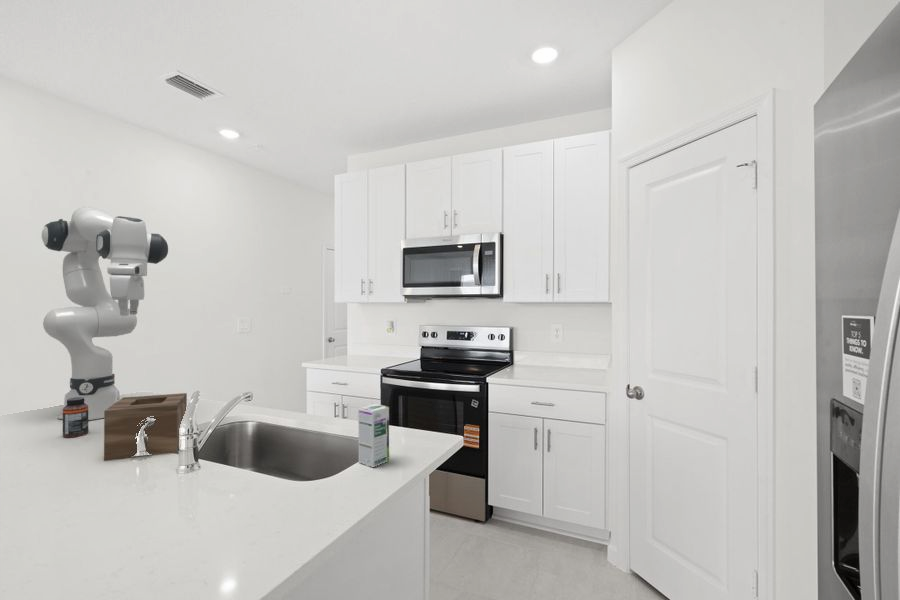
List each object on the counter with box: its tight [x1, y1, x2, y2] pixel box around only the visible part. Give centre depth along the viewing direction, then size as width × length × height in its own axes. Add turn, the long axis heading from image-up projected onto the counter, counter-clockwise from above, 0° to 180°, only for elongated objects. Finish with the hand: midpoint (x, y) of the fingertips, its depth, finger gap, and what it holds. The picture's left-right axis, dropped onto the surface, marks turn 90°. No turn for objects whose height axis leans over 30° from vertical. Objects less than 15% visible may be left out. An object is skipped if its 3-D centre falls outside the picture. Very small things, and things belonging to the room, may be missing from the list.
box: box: [103, 392, 188, 462], centre depth 119 cm, size 16×16×13 cm
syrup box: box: [357, 403, 390, 468], centre depth 109 cm, size 6×6×14 cm
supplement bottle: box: [62, 397, 89, 438], centre depth 129 cm, size 6×6×11 cm
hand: (129, 315), depth 128 cm, fingers open, 8 cm apart
